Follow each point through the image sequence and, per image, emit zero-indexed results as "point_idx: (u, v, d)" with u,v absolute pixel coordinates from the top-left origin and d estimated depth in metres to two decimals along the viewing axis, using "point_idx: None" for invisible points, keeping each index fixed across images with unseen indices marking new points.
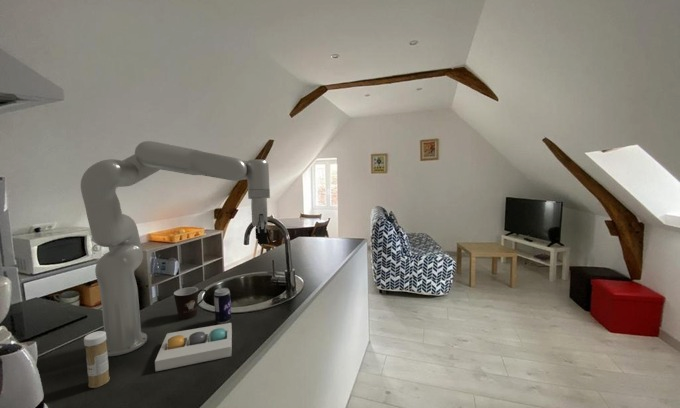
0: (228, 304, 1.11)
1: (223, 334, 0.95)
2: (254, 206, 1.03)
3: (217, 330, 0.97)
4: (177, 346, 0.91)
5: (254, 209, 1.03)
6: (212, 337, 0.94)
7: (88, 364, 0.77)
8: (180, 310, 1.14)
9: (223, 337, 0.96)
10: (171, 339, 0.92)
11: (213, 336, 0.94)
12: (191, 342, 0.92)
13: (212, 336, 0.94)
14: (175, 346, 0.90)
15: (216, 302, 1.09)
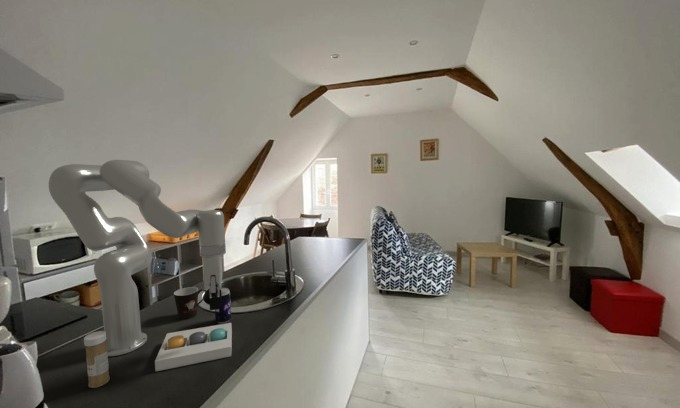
0: (228, 304, 1.11)
1: (223, 334, 0.95)
2: (205, 266, 0.89)
3: (217, 330, 0.97)
4: (177, 346, 0.91)
5: (204, 270, 0.89)
6: (212, 337, 0.94)
7: (88, 364, 0.77)
8: (180, 310, 1.14)
9: (223, 337, 0.96)
10: (171, 339, 0.92)
11: (213, 336, 0.94)
12: (191, 342, 0.92)
13: (212, 336, 0.94)
14: (175, 346, 0.90)
15: None
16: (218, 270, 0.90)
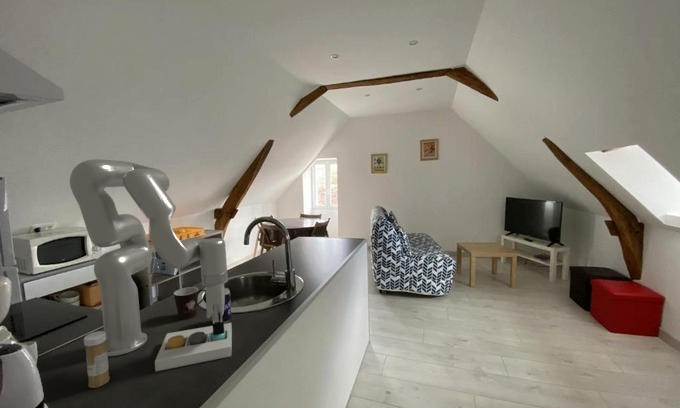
0: (228, 304, 1.11)
1: (223, 335, 0.96)
2: (207, 295, 0.90)
3: None
4: (177, 346, 0.91)
5: (207, 299, 0.90)
6: (212, 339, 0.94)
7: (88, 364, 0.77)
8: (180, 310, 1.14)
9: (223, 338, 0.96)
10: (171, 339, 0.92)
11: (213, 338, 0.94)
12: (191, 342, 0.92)
13: (212, 338, 0.94)
14: (175, 346, 0.90)
15: None
16: (220, 299, 0.91)
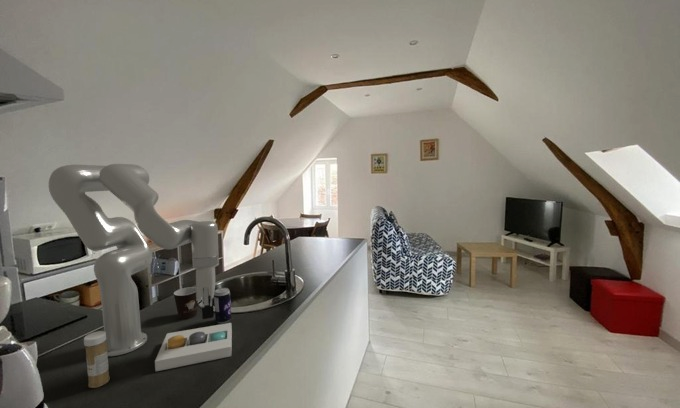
0: (228, 304, 1.11)
1: (223, 337, 0.96)
2: (197, 278, 0.89)
3: (217, 334, 0.97)
4: (177, 346, 0.91)
5: (197, 282, 0.89)
6: (212, 340, 0.94)
7: (88, 364, 0.77)
8: (180, 310, 1.14)
9: None
10: (171, 339, 0.92)
11: (214, 340, 0.94)
12: (191, 342, 0.92)
13: (212, 339, 0.94)
14: (175, 346, 0.90)
15: (216, 302, 1.09)
16: (211, 282, 0.90)
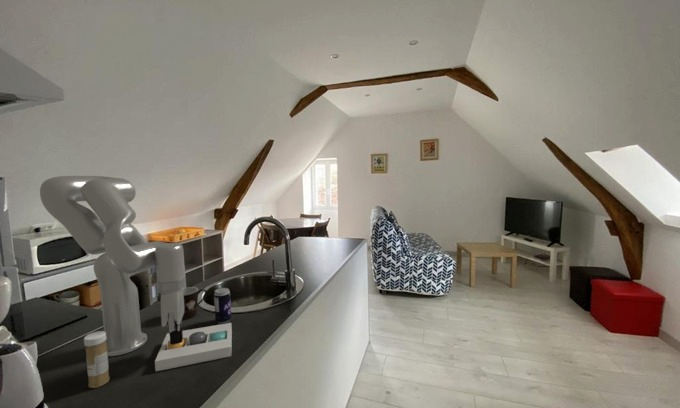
0: (228, 304, 1.11)
1: (223, 337, 0.96)
2: (161, 303, 0.86)
3: (217, 334, 0.97)
4: None
5: (161, 307, 0.86)
6: (212, 340, 0.94)
7: (88, 364, 0.77)
8: None
9: None
10: None
11: (214, 340, 0.94)
12: (191, 342, 0.92)
13: (212, 339, 0.94)
14: None
15: (216, 302, 1.09)
16: (176, 307, 0.87)
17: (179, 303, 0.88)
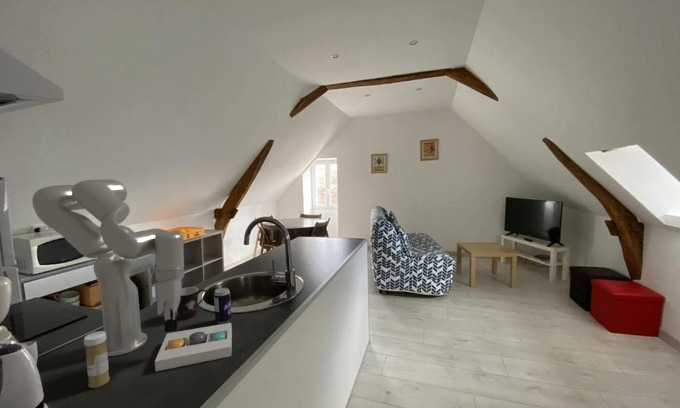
0: (228, 304, 1.11)
1: (223, 337, 0.96)
2: (158, 291, 0.86)
3: (217, 334, 0.97)
4: None
5: (158, 295, 0.86)
6: (212, 340, 0.94)
7: (88, 364, 0.77)
8: (180, 310, 1.14)
9: None
10: (171, 343, 0.92)
11: (214, 340, 0.94)
12: (191, 342, 0.92)
13: (212, 339, 0.94)
14: None
15: (216, 302, 1.09)
16: (173, 296, 0.87)
17: (176, 292, 0.88)
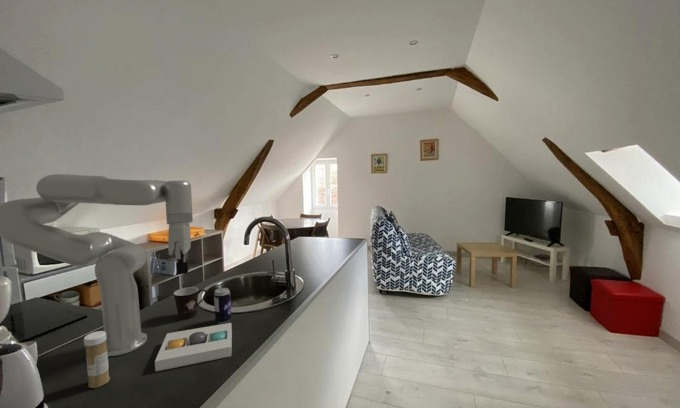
0: (228, 304, 1.11)
1: (223, 337, 0.96)
2: (169, 233, 0.93)
3: (217, 334, 0.97)
4: None
5: (169, 236, 0.93)
6: (212, 340, 0.94)
7: (88, 364, 0.77)
8: (180, 310, 1.14)
9: None
10: (171, 343, 0.92)
11: (214, 340, 0.94)
12: (191, 342, 0.92)
13: (212, 339, 0.94)
14: None
15: (216, 302, 1.09)
16: (182, 237, 0.94)
17: (185, 235, 0.95)
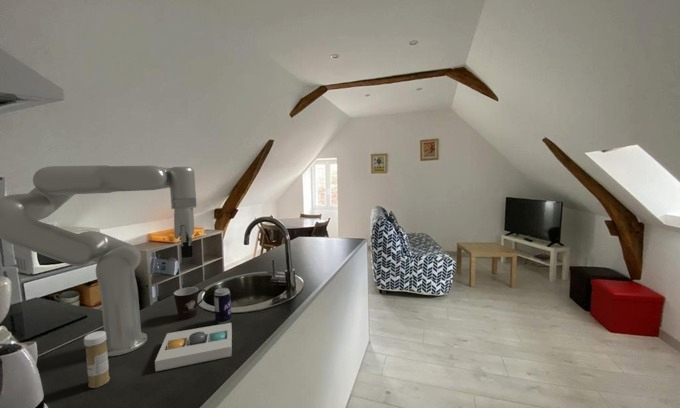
0: (228, 304, 1.11)
1: (223, 337, 0.96)
2: (175, 217, 0.96)
3: (217, 334, 0.97)
4: None
5: (175, 220, 0.96)
6: (212, 340, 0.94)
7: (88, 364, 0.77)
8: (180, 310, 1.14)
9: None
10: (171, 343, 0.92)
11: (214, 340, 0.94)
12: (191, 342, 0.92)
13: (212, 339, 0.94)
14: None
15: (216, 302, 1.09)
16: (188, 221, 0.97)
17: (190, 219, 0.99)
